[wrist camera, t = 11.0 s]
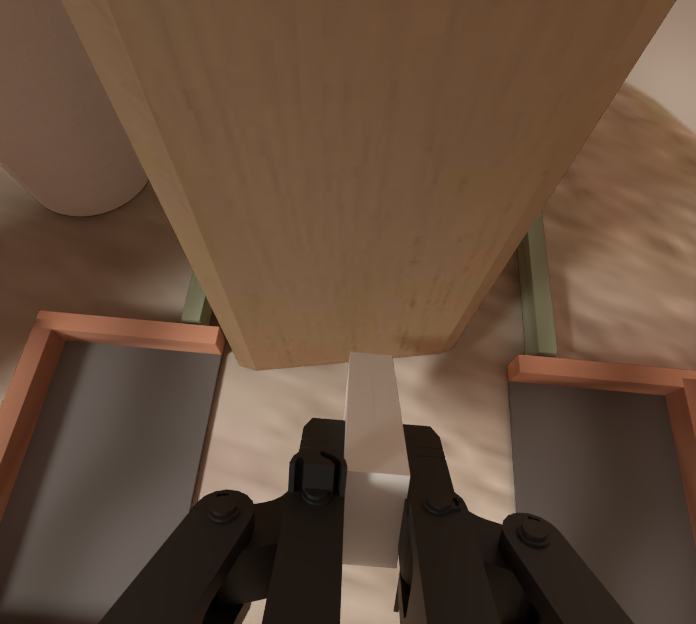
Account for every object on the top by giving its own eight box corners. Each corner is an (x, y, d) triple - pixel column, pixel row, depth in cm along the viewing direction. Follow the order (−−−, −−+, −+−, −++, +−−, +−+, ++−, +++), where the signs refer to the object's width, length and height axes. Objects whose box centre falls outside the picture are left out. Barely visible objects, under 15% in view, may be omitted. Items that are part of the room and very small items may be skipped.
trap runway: (-269, 1193, 12) (-440, 1379, 9) (133, 118, 28) (112, 73, 25) (874, 1298, 12) (1031, 1513, 9) (629, 164, 28) (661, 123, 25)
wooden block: (418, 187, 27) (610, -555, 9) (456, 359, 22) (984, -394, 4) (234, 199, 26) (20, -595, 8) (237, 379, 22) (-216, -443, 4)
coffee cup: (177, 95, 29) (46, -299, 15) (187, 227, 25) (23, -147, 11) (6, 114, 28) (-298, -294, 14) (-12, 255, 24) (-457, -124, 10)
